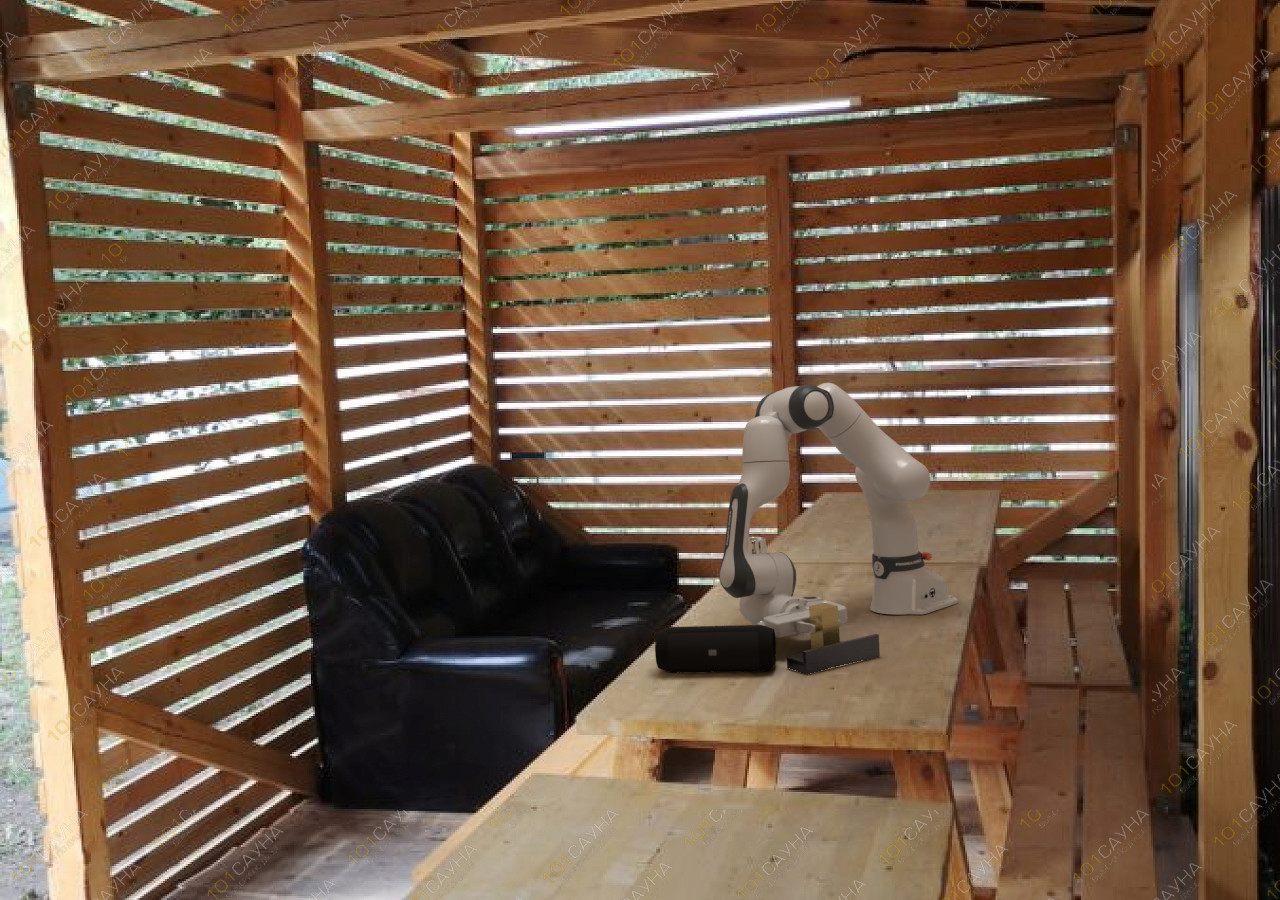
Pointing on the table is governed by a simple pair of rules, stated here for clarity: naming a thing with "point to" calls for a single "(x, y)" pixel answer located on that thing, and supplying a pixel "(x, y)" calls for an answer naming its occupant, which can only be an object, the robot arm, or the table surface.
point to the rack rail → (835, 654)
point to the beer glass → (757, 545)
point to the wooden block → (824, 624)
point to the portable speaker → (716, 648)
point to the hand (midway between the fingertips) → (827, 626)
